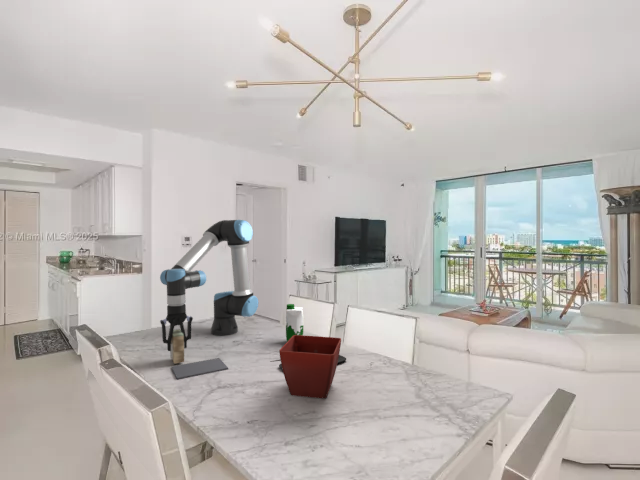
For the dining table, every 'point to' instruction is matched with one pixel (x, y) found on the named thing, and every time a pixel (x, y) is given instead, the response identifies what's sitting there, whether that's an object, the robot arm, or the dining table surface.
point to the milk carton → (294, 321)
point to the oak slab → (178, 346)
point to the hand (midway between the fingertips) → (177, 356)
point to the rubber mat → (198, 368)
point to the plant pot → (310, 364)
